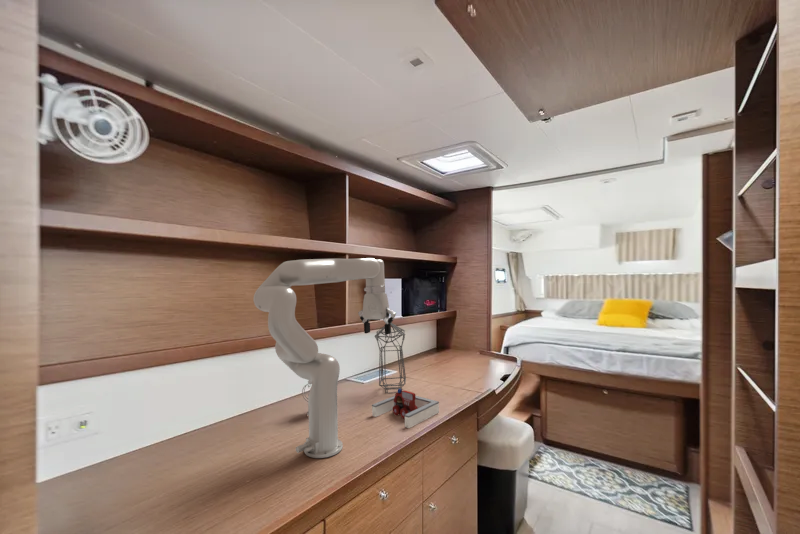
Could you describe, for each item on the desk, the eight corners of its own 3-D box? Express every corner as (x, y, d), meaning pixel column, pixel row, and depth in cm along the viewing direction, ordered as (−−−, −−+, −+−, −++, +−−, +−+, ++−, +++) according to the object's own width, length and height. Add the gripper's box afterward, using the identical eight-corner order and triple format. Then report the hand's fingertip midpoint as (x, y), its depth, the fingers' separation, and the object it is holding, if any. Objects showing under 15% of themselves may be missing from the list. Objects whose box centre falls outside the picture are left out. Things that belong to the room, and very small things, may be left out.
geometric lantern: (408, 395, 170) (404, 324, 171) (376, 396, 170) (373, 325, 171) (408, 385, 186) (405, 320, 187) (379, 386, 186) (375, 321, 187)
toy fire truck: (401, 408, 152) (400, 384, 153) (421, 416, 143) (420, 391, 143) (389, 413, 148) (388, 388, 148) (408, 421, 138) (408, 395, 139)
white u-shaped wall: (409, 428, 132) (408, 416, 132) (372, 415, 145) (371, 404, 145) (439, 412, 147) (438, 401, 147) (403, 402, 160) (402, 392, 160)
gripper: (352, 291, 139) (354, 334, 139) (389, 290, 131) (391, 336, 130) (363, 290, 146) (365, 330, 145) (399, 289, 137) (400, 332, 137)
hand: (377, 333), depth 138 cm, fingers open, 9 cm apart
